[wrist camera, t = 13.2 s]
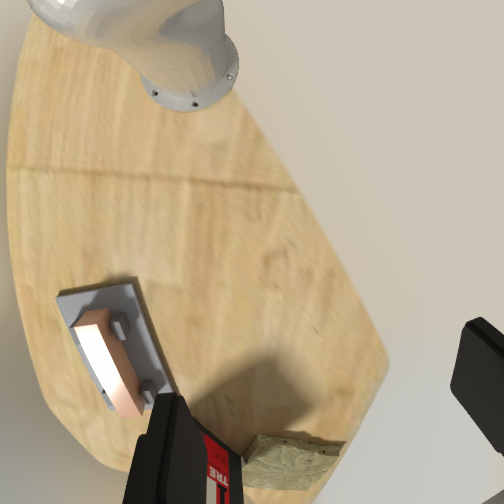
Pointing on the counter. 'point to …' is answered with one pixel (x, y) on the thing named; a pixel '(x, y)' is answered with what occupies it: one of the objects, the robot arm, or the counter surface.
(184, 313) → the counter surface
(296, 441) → the decorative tile
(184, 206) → the counter surface
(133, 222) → the counter surface
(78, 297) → the grey plate with pegs
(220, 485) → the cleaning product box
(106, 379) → the clay strip
